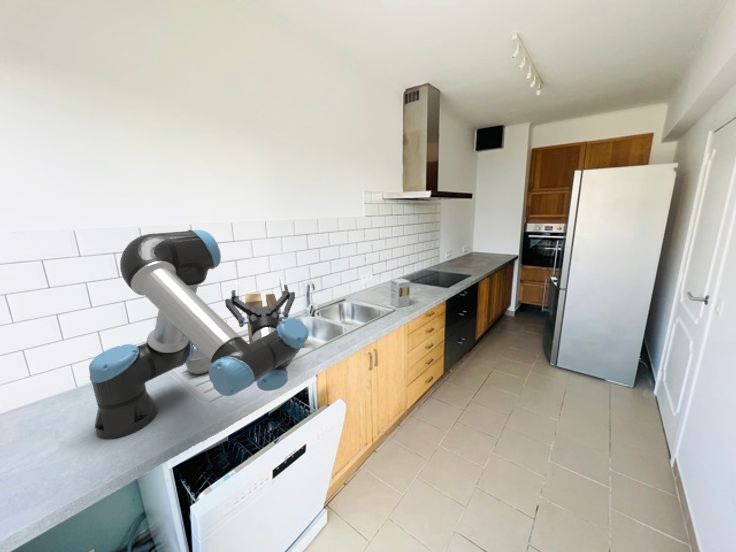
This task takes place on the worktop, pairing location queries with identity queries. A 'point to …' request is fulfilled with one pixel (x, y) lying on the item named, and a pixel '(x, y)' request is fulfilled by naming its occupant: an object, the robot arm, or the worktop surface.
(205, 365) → the teacup
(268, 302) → the rail
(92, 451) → the worktop surface
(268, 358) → the robot arm
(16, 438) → the worktop surface
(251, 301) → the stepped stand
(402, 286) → the supplement box
